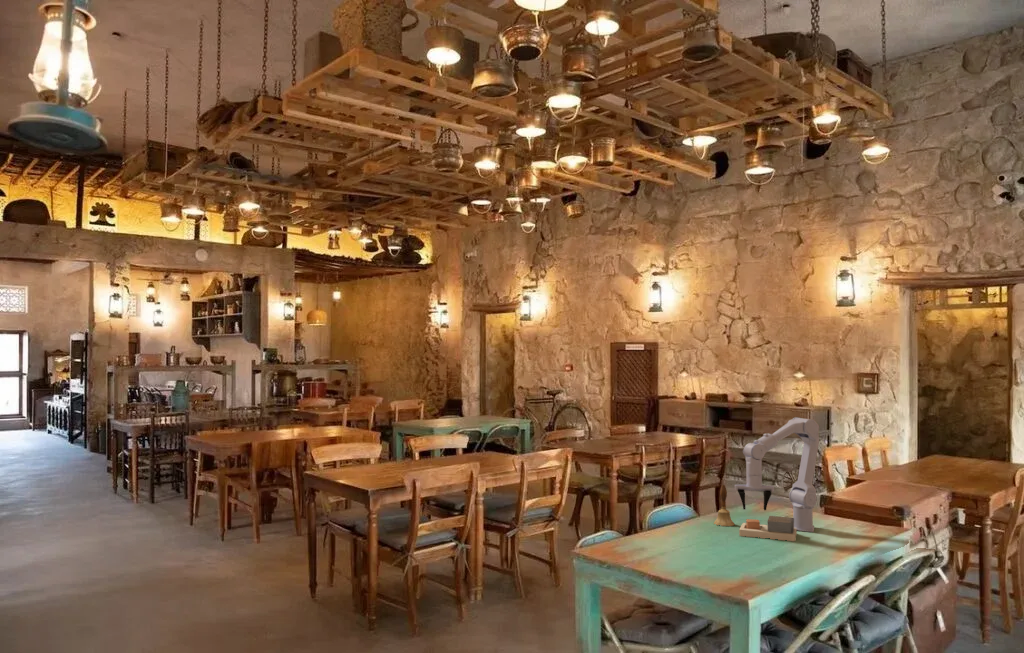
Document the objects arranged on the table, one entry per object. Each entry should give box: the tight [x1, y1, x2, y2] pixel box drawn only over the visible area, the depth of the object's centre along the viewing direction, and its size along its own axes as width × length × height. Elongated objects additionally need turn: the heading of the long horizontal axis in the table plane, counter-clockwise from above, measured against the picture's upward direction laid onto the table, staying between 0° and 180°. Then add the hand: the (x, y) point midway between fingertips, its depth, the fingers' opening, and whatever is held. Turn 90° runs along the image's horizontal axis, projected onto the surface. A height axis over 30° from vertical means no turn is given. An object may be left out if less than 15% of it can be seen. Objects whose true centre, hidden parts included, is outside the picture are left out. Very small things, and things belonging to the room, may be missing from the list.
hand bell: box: [713, 484, 736, 527], centre depth 298 cm, size 8×8×16 cm
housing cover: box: [767, 515, 794, 533], centre depth 279 cm, size 9×9×4 cm
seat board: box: [738, 522, 798, 542], centre depth 281 cm, size 12×20×2 cm, turn 66°
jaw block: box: [745, 518, 761, 530], centre depth 283 cm, size 4×4×5 cm
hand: (754, 509), depth 283 cm, fingers open, 7 cm apart
